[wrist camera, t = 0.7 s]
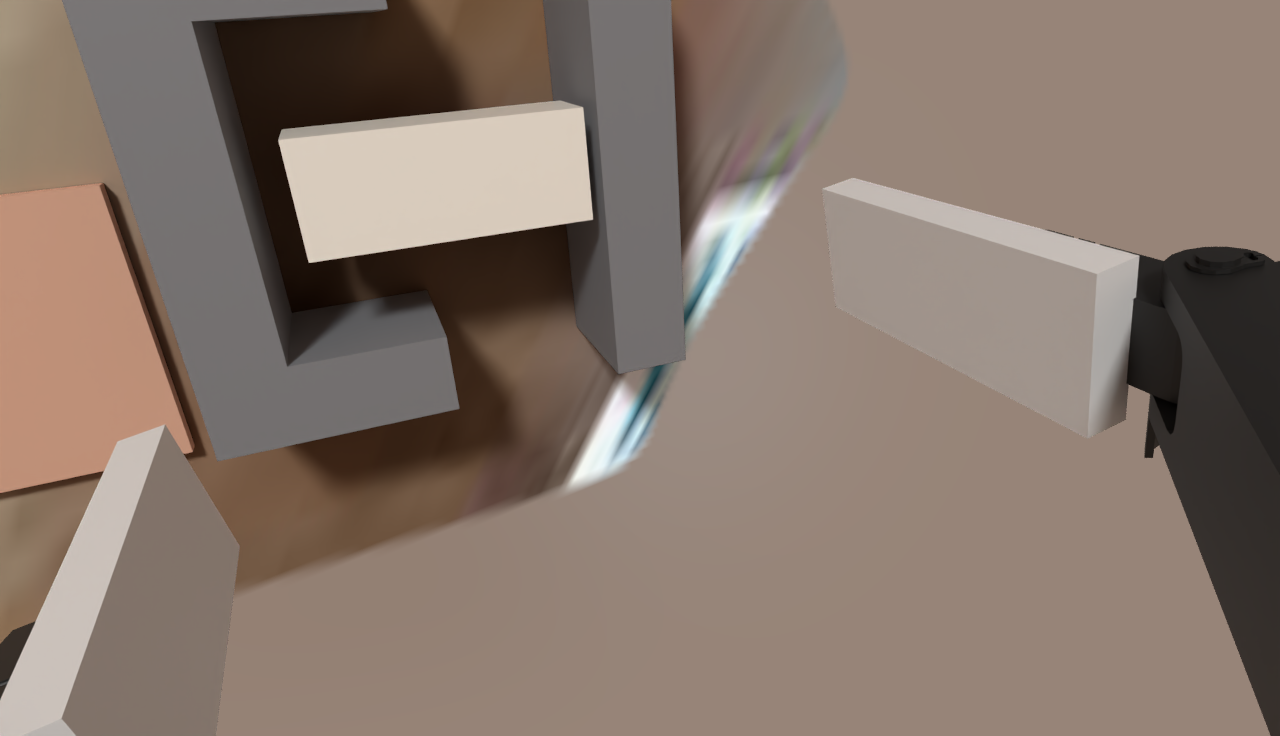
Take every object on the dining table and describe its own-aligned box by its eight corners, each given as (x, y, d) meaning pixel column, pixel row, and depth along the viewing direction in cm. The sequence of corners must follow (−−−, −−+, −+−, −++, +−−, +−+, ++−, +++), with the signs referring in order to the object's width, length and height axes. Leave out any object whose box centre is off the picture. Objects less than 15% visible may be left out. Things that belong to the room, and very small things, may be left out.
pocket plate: (233, 392, 33) (217, 461, 28) (87, -72, 26) (29, -97, 20) (635, 314, 38) (685, 359, 33) (607, -88, 31) (666, -110, 26)
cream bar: (309, 241, 29) (308, 263, 26) (281, 129, 27) (278, 140, 24) (570, 203, 32) (593, 219, 29) (560, 100, 30) (583, 107, 27)
